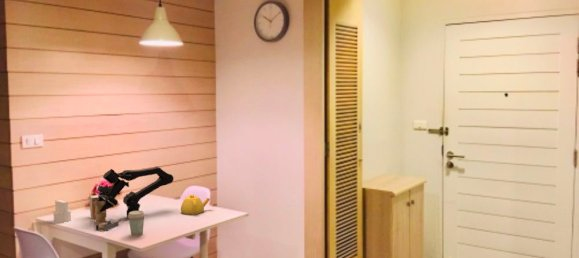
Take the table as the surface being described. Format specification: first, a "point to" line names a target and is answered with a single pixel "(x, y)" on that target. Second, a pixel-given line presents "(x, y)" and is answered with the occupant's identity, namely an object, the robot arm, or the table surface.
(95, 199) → the small box
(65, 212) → the cylinder with rectangular tab
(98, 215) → the tan flared column
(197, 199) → the teapot
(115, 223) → the steel rack
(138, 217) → the coffee cup
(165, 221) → the table surface
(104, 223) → the offcut stack
